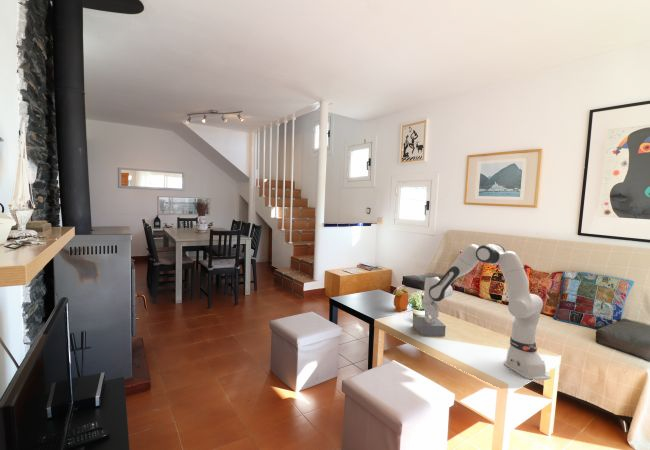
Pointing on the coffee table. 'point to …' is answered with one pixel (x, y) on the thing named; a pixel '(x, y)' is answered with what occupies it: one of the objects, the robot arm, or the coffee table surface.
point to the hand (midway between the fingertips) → (429, 319)
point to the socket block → (429, 327)
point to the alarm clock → (401, 300)
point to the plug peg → (428, 319)
